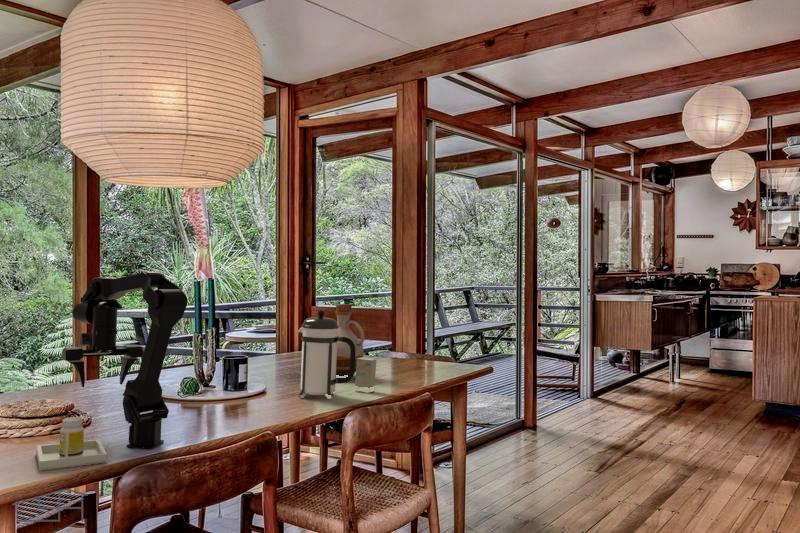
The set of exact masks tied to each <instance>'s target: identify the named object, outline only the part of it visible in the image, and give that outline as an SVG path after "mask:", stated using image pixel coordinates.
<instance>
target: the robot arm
mask: <svg viewBox="0 0 800 533" xmlns="http://www.w3.org/2000/svg"><path fill="white" fill-rule="evenodd" d="M155 288H156V289H155ZM154 289H155V290H154ZM138 291H142V299H143V300H144V301H145V302H146V304H147V313H148V317H149V319H150V321H151V324H150V327H149V331H148V334H147V339H146V342H145V347H144V348H143V346H141V345H139V344H123V346H122V347H119V348H118V347H117V335H118V328H117V325H118V310H122V309H123V306H122V305H121V303H120V302H118V300H119V299H120V298H123V297H125V296H126V294H127V293H131V292H138ZM79 301H80V302H78V303H76V305H75V306H74V307H73V310H72V316H73V317H72V318H74V320H75V321H76V322H79V323H81V324H82V323H84V324H90V325H91V324H92V328H91V334H90V333H89V332H88V333H87V332H86V333H85V332H81V333H80V336H79V337H80V338H79V345H80V346H69V347H68V346H66V347H63V349H62V350H61V359H62V360H64V361H65V362H68V363H69V364H71V365H73V367H74V368H75V371H76V373H77V375H78V380H79V382H80V386H81V388H84V387H85V382H86V381H85V380H86V379H85V378H86V377H85V374H86V373H85V361H84V360H83V358H85V357H86V358H87V357H88V358H89V357H103V356H104V357H109V356H110V357H111V356H120V358H121V359H120V360H121V367H120V371H119V372H120V373H119V385H123V384H124V381H125V380H126V377H127V375H128V373H129V371H130V369H131V368H132V366H133V365H134V363H135V362H138V361H139V358H141V361H140V366H139V369H138V372H137V373H138V374H137V377H135V379H129V380H127V381H126V383H125V389H124V392H123V393H122V396H123V399H122V407H123V414H124V420H125V422H126V423H127V424H130V425H129V426H128V427H129V428H128V444H126V447H127V448H135V449H145V450H146V449H147V450H148V449H149V450H152V449H154V448H156V447H157V446H160V445H161V444H163V443H164V442H165V439H161V438H162V422H163V421H162V419H163V420H164V419H168V416H169V412H170V410H169V408H168V406H167V405H166V403H165V401H164V399H163V397H162V396H163V388H162V386H161V383H160V376H161V373H162V370H163V369H162V368H163V365H164V361H165V358H166V354H167V350H168V347H169V343H170V339H171V336H172V333H173V332H172V331H173V328H174V326H176V324H177V323H178V322H180V320H181V319H182V318H183V316H184V314H185V311H186V309H187V308H188V307H187V306H188V301H189V300H188V297H187V295H186V294H185V292H184V291H183V290H182V289H181V288H180V287H179V285H177V284H176V283H174V282H173V281H171V280H170V279H168V278H167V277H166V276H165V275H164V274H163V273H162V272H160V271H142V272H139V273H136V274H131V275H126V276H121V277H93V279H91V282H90V283H89V285H88V286H87V289H86V291H85V292H84V294H83V295H82V297H80V300H79ZM83 347H87V349H83Z"/></svg>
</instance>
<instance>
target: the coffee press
mask: <svg viewBox="0 0 800 533" xmlns="http://www.w3.org/2000/svg"><path fill="white" fill-rule="evenodd" d="M324 314H325V312H324V310H323V309H320V310H318V312H317V315H318V316H312V317H307V318H306V319H304V321H303V323H302V324H301V327H300V328H299V329H298V330H297V333H301V334H302V335H301V341H302V342H301V366H300V393H299V394H298V396H299V395H302V396H303V395H304V394H309V395H311V396H324V395H325V394H328V395H332V394H331V393H333V392H334V391H336V384H347V383H350V382H351V380H352V379H353V378H354V376H355V373H356V372H355V345H354V343H353V341H352V340H351V339H349V338H347V337H338V336H337V333H338V328H339V325H338V324H337V319H334V318H331V317H324ZM337 341H340V342H346V343H347V344H348V345H349V346H350V373H349V375H348V377H346V378H336V357H337ZM354 372H355V373H354ZM309 395H308V396H309Z"/></svg>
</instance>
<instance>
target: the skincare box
mask: <svg viewBox="0 0 800 533" xmlns="http://www.w3.org/2000/svg"><path fill="white" fill-rule="evenodd" d="M376 369H377V359H376V358H371V357H370V358H369V357H364V356H363V357H362V358H357V366H356V372H355V382H354V383H355V384H354V387H355V386H358V387H368V388H370V387H373V386H375V387H376V384H375V383H376V371H377V370H376Z"/></svg>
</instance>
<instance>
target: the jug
mask: <svg viewBox="0 0 800 533" xmlns="http://www.w3.org/2000/svg"><path fill="white" fill-rule="evenodd" d="M352 307H353V304H335V309H336V310H335V316H336V321H337V324H338V325H339V328H338V333H337V336H338V337H347V338H349V339H351V340H352V341H353V343H354V345H355V372H354V374H356V366H357V358H362V357H363V358H364V354H365V353H364V351H365V350H364V345H363V344H364V341H365V332H364V329H363V328H362V326H361V325H360V324H359V323H358V322H357V321H355V320H354V319H353V320H350V317H351V315H352V311H351V310H352ZM350 325H354V327H356V328H357V330H358V332H359V334H360V339H359V338H358V337H357V336H356V335H355V333H353V331H352V330H351V329H350ZM349 373H350V346H349V345H348V344H347V343H346V342H340V341H337V357H336V375H339V376H344V375H349Z"/></svg>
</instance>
